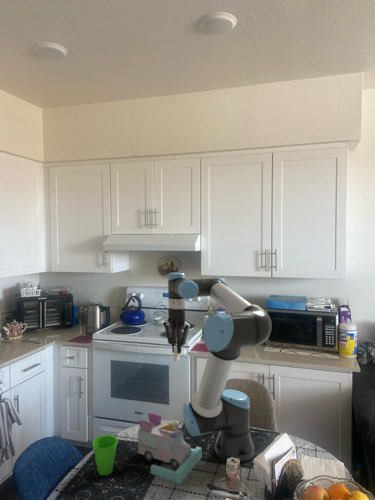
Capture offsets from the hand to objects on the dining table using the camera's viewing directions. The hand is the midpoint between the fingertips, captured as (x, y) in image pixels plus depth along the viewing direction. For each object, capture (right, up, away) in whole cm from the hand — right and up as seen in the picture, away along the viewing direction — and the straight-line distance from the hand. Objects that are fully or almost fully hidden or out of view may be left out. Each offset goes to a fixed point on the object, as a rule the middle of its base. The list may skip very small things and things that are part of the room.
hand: (176, 360), depth 167 cm
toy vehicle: (-4, -31, -25) cm, 40 cm away
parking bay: (+1, -30, -29) cm, 42 cm away
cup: (-25, -31, -32) cm, 51 cm away
